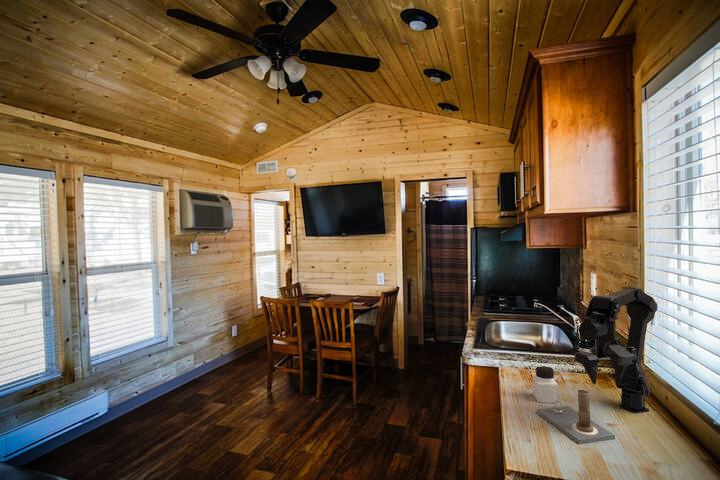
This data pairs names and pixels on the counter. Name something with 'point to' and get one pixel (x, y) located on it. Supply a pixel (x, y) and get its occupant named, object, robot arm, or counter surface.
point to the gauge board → (574, 425)
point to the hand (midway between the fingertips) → (606, 382)
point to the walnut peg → (584, 412)
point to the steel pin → (557, 407)
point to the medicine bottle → (545, 385)
